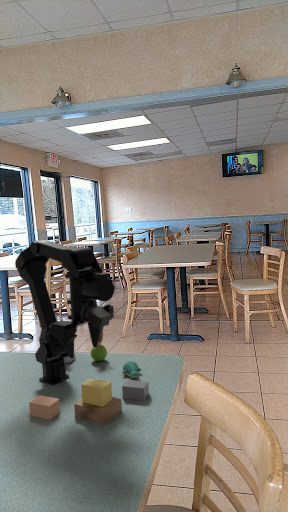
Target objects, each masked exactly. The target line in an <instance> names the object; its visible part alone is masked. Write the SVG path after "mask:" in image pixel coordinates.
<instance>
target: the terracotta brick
mask: <svg viewBox="0 0 288 512" xmlns="http://www.w3.org/2000/svg"><path fill="white" fill-rule="evenodd" d="M28 404H29V415H30V416H31V415H32V417H36V418H40V419H45V420H51V419H53V418H54V417H55V416H57V415H58V414H59V413H60V412H61V408H60V407H61V405H60V398H57V397H51V396H45V395H40V394H39V395H38V396H37V397H35V398H33V399H32V400H31V401H29V402H28Z"/></svg>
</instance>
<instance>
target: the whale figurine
mask: <svg viewBox="0 0 288 512" xmlns="http://www.w3.org/2000/svg"><path fill="white" fill-rule="evenodd" d="M140 372H142V368H140V367H139V365H138V363H136V362H135V361H134V360H129V361H126V362H125V363H124V364H123V367H122V375H125V376H127V377H129V378H130V379H134V378H139V377H140V374H139V373H140Z"/></svg>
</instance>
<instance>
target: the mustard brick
mask: <svg viewBox="0 0 288 512" xmlns="http://www.w3.org/2000/svg"><path fill="white" fill-rule="evenodd" d="M80 387H81V399H82V402H83V403H87V404H92V405H96V406H100V407H103V406H105V405H106V404H107V403H109V402H110V401H112V397H113V390H112V382H111V381H107V380H104V379H103V380H102V379H96V378H90V379H88V380H86V381H84V382H83V383H81V386H80Z"/></svg>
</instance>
